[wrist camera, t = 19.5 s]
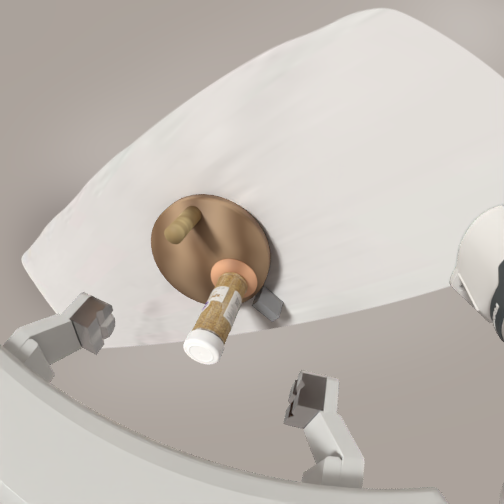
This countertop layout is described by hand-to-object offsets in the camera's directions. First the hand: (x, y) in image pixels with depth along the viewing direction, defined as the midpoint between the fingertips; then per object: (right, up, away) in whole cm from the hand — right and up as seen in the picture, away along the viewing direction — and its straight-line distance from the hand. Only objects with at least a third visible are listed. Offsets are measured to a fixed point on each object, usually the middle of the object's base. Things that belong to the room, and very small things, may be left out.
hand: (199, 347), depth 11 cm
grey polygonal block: (+5, -3, +36) cm, 37 cm away
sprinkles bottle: (-1, -1, +32) cm, 32 cm away
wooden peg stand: (-4, +4, +34) cm, 34 cm away
